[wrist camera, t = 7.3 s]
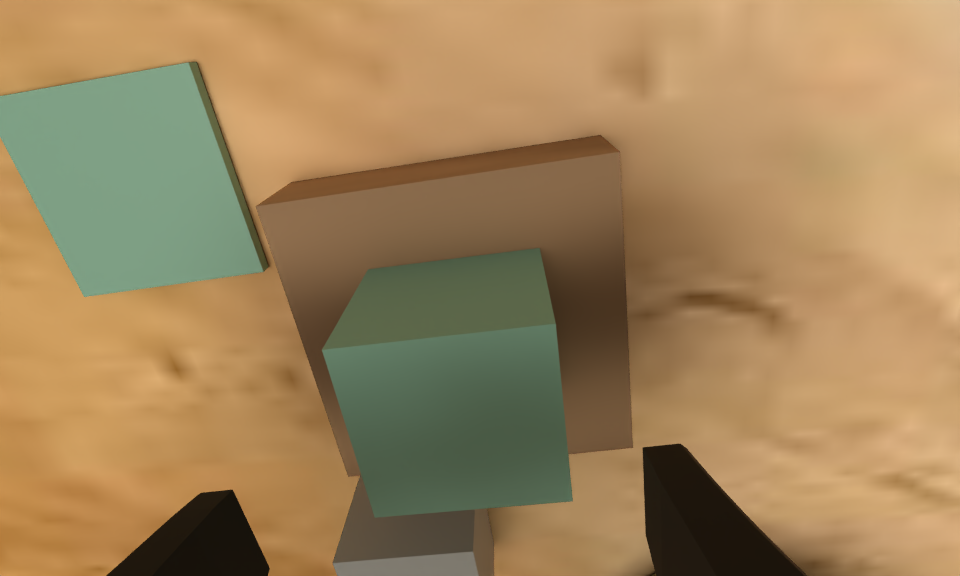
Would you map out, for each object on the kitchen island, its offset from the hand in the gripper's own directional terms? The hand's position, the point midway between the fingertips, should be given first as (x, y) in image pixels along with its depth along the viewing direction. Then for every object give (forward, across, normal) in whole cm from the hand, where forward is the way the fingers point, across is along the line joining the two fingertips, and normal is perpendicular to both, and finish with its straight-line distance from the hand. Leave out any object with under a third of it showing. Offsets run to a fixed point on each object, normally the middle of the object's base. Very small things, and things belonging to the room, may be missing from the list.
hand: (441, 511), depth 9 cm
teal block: (+6, 0, 0) cm, 6 cm away
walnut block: (+9, 0, 0) cm, 9 cm away
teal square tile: (+8, +9, -5) cm, 13 cm away
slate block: (+9, +3, +9) cm, 13 cm away
